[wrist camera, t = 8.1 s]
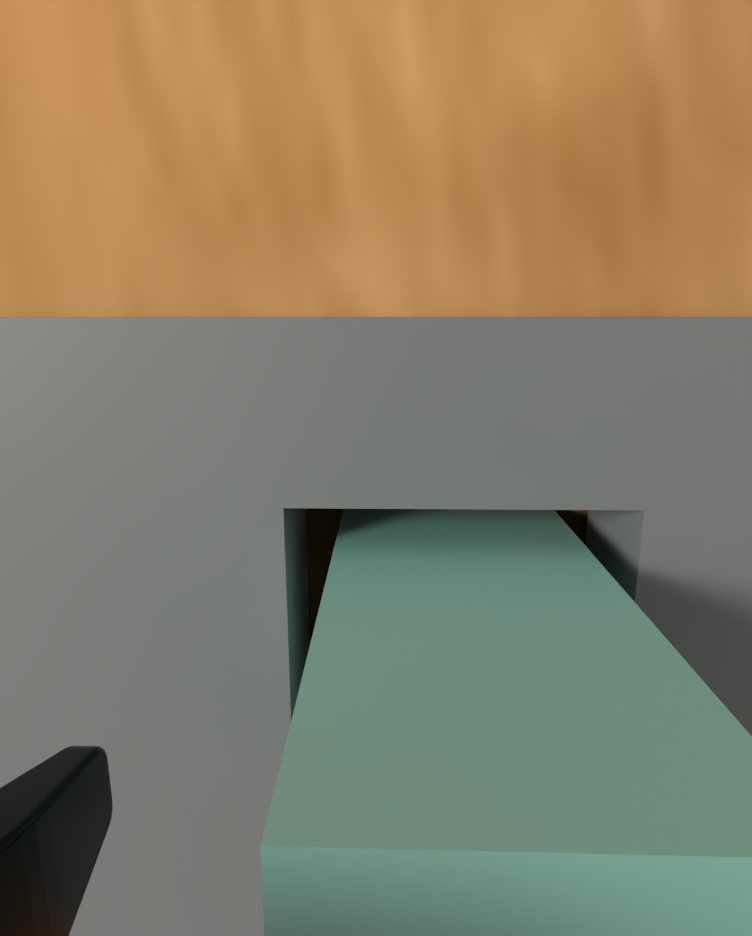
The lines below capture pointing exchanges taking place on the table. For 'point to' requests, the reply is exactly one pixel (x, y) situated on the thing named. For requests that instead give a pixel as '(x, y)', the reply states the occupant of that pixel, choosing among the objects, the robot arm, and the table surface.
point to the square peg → (500, 748)
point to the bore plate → (285, 536)
